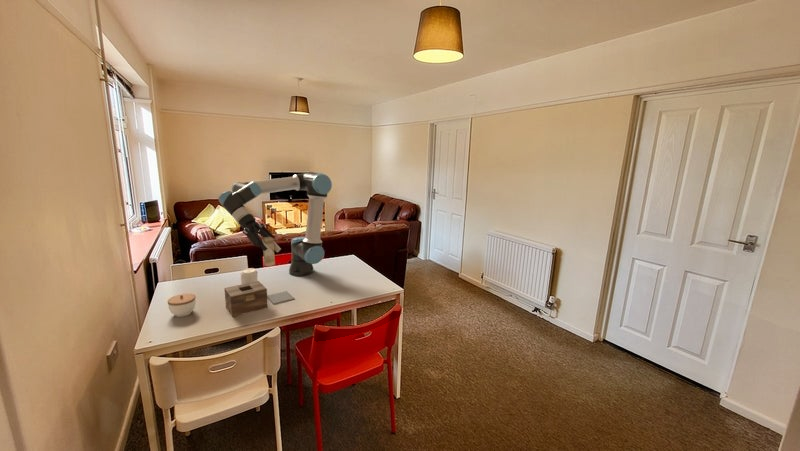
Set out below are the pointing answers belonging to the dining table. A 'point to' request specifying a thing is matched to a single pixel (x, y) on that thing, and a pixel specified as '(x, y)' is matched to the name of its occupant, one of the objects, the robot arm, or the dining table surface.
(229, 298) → the brown square frame
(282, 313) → the dining table surface
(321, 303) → the dining table surface
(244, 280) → the tan half-round slab
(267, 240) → the wooden block
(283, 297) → the mat
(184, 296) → the lidded jar
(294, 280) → the dining table surface
